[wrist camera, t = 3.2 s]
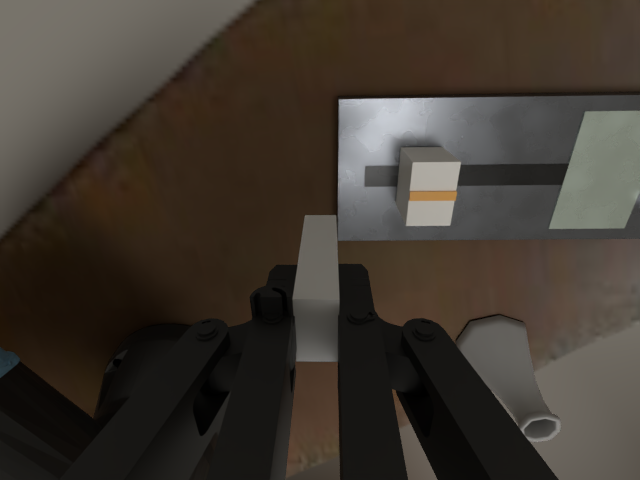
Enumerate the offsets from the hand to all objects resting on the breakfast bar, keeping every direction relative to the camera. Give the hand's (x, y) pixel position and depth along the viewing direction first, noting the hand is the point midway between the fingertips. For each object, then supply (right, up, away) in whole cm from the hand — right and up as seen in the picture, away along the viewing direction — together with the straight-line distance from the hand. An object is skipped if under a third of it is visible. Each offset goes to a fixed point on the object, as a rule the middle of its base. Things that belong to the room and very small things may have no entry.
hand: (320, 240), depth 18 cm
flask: (+18, -10, +20) cm, 29 cm away
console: (+15, +6, +11) cm, 20 cm away
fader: (+7, +5, +9) cm, 13 cm away
